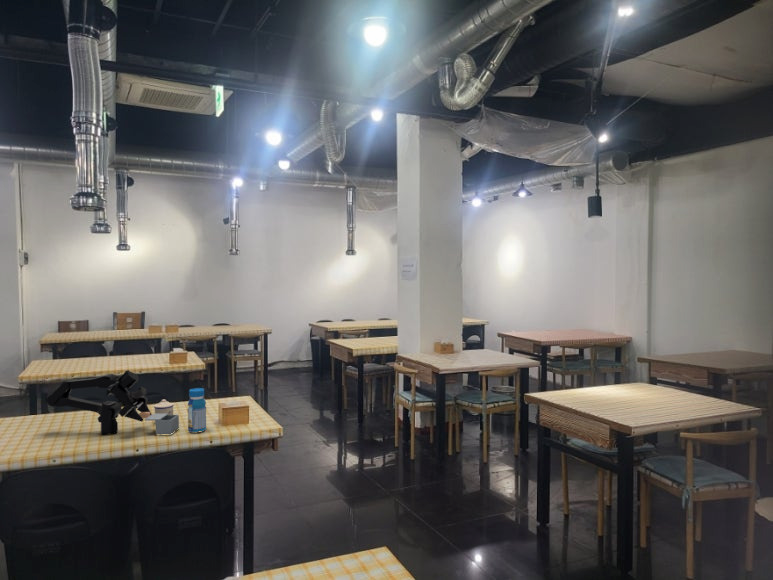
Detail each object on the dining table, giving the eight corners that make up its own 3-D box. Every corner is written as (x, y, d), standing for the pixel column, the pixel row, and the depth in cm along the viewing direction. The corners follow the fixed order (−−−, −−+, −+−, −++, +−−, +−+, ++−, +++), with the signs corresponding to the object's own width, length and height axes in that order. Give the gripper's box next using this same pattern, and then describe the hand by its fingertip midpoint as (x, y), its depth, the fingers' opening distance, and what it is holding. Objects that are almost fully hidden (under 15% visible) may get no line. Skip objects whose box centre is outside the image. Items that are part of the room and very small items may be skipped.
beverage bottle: (200, 434, 243) (199, 391, 243) (184, 433, 245) (183, 391, 244) (209, 429, 251) (209, 388, 251) (194, 428, 253) (193, 387, 253)
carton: (155, 435, 241) (155, 420, 241) (164, 429, 251) (164, 414, 251) (171, 435, 241) (170, 420, 241) (178, 429, 251) (178, 414, 251)
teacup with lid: (169, 425, 258) (169, 401, 258) (151, 425, 258) (150, 402, 257) (178, 418, 270) (178, 396, 270) (160, 418, 270) (160, 396, 269)
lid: (135, 420, 241) (135, 415, 241) (145, 414, 251) (145, 409, 251) (159, 420, 241) (159, 415, 241) (168, 414, 251) (168, 409, 251)
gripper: (125, 387, 236) (150, 411, 236) (143, 379, 254) (166, 401, 255) (108, 404, 236) (133, 428, 236) (127, 395, 254) (150, 417, 255)
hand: (146, 418), depth 246 cm, fingers open, 9 cm apart
